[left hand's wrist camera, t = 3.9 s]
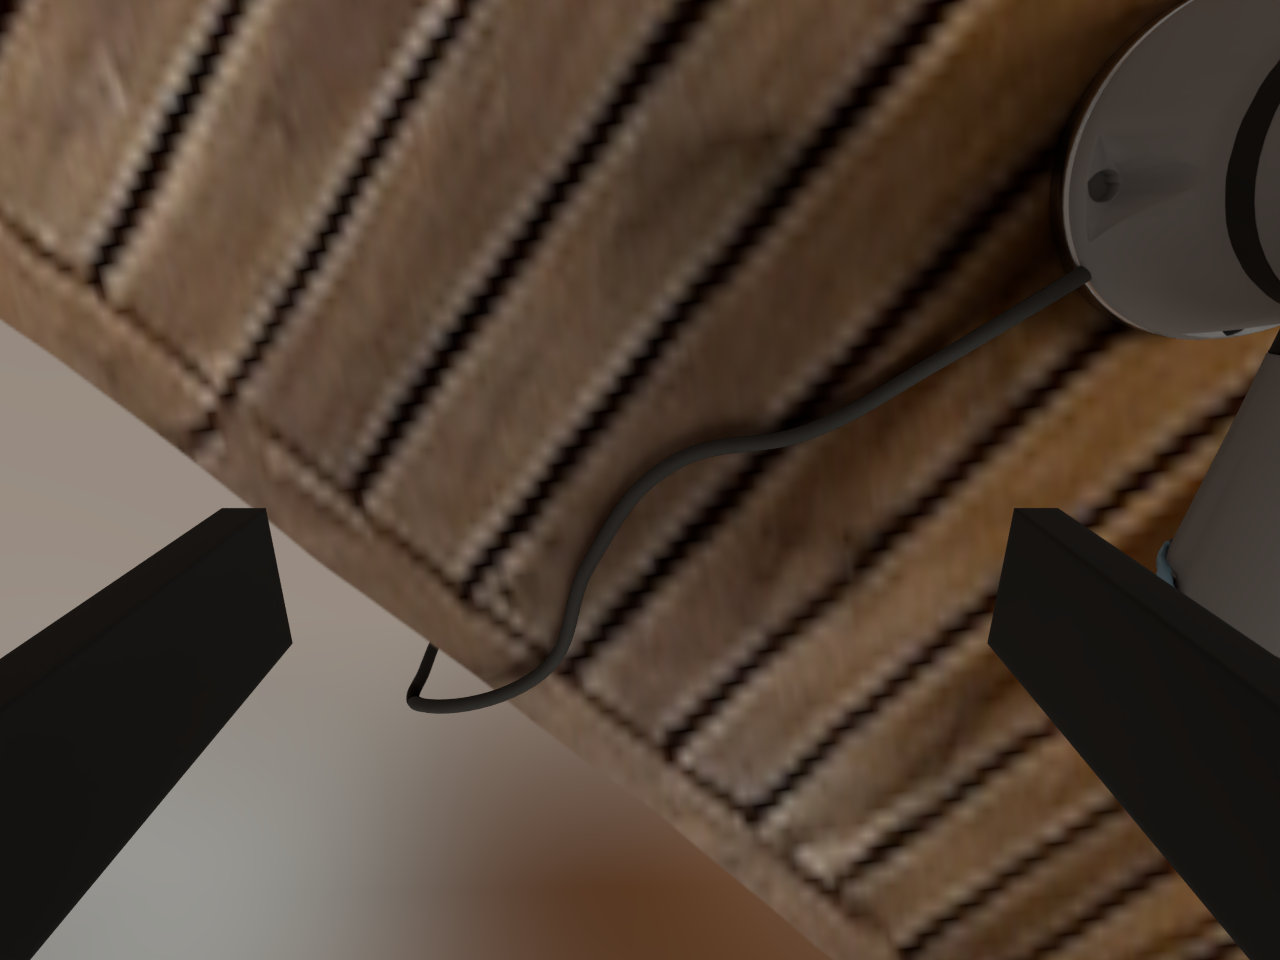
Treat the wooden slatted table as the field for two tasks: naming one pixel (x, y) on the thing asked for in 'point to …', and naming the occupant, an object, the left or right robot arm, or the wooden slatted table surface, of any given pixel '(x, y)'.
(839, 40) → the wooden slatted table surface
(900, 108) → the wooden slatted table surface
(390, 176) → the wooden slatted table surface
